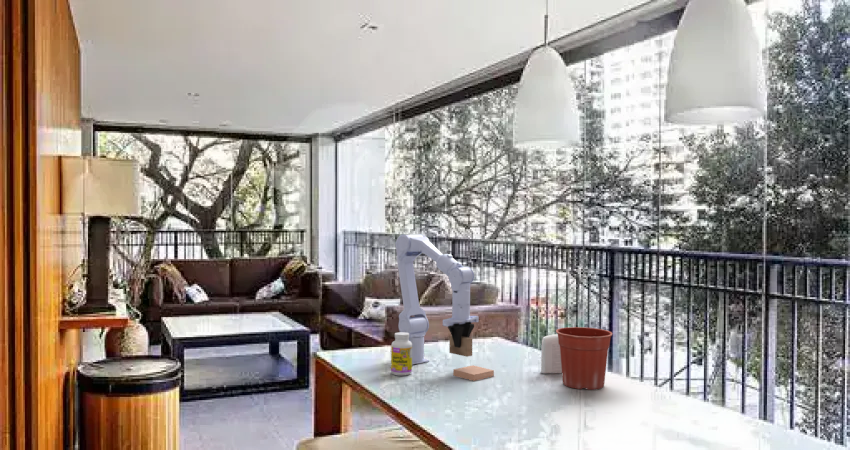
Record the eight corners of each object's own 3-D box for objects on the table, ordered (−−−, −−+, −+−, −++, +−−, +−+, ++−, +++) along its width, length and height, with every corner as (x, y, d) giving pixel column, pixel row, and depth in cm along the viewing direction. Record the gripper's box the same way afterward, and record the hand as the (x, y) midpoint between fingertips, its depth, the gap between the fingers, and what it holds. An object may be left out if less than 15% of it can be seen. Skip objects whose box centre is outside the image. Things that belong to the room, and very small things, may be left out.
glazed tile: (453, 369, 207) (474, 374, 200) (473, 365, 213) (493, 370, 206) (453, 376, 207) (474, 382, 200) (473, 372, 213) (493, 377, 206)
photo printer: (569, 370, 215) (569, 333, 215) (574, 373, 211) (574, 335, 211) (539, 371, 213) (539, 333, 213) (543, 374, 209) (543, 335, 209)
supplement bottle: (388, 375, 206) (388, 334, 206) (394, 370, 213) (394, 331, 213) (408, 376, 205) (409, 335, 205) (414, 372, 211) (414, 332, 211)
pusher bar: (449, 352, 213) (449, 335, 213) (454, 351, 215) (454, 334, 215) (467, 356, 207) (467, 338, 207) (472, 355, 209) (472, 338, 209)
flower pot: (614, 394, 186) (614, 337, 186) (555, 390, 190) (555, 335, 190) (609, 380, 203) (610, 328, 202) (555, 377, 206) (556, 326, 206)
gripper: (453, 307, 203) (453, 351, 203) (485, 303, 213) (485, 345, 213) (438, 305, 208) (437, 347, 208) (470, 301, 218) (469, 342, 218)
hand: (460, 346), depth 211 cm, fingers closed on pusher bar, 2 cm apart
